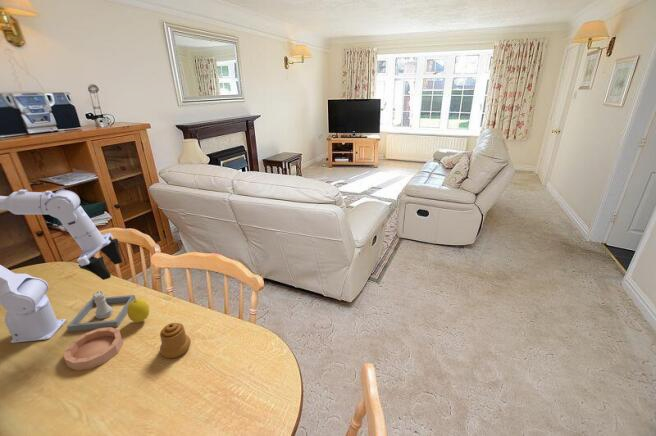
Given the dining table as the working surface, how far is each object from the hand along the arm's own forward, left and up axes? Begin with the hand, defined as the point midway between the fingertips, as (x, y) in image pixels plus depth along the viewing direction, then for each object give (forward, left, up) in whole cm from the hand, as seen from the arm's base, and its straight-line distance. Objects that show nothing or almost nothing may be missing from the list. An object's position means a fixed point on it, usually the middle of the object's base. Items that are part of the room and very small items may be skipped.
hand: (113, 270), depth 89 cm
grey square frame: (-6, 0, -16) cm, 17 cm away
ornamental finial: (+20, -18, -16) cm, 31 cm away
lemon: (+6, -5, -16) cm, 18 cm away
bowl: (-1, -15, -16) cm, 22 cm away
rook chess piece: (-6, 0, -16) cm, 17 cm away
